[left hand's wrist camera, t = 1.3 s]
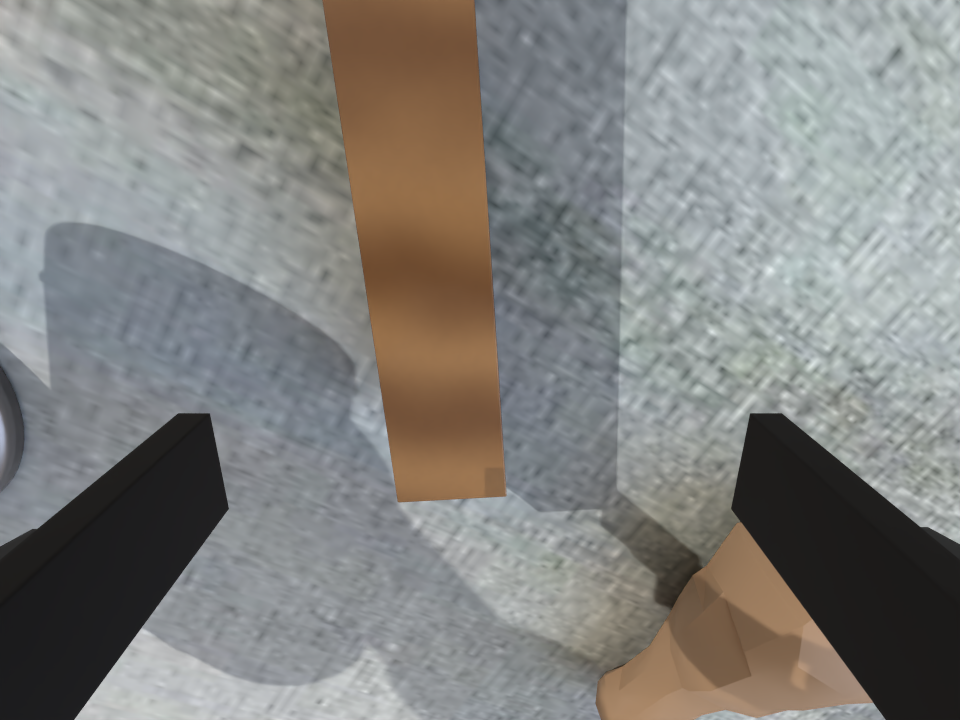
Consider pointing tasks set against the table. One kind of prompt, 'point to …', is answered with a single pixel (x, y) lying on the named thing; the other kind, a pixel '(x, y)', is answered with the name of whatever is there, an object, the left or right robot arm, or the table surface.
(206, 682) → the table surface
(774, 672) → the squash
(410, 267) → the post
